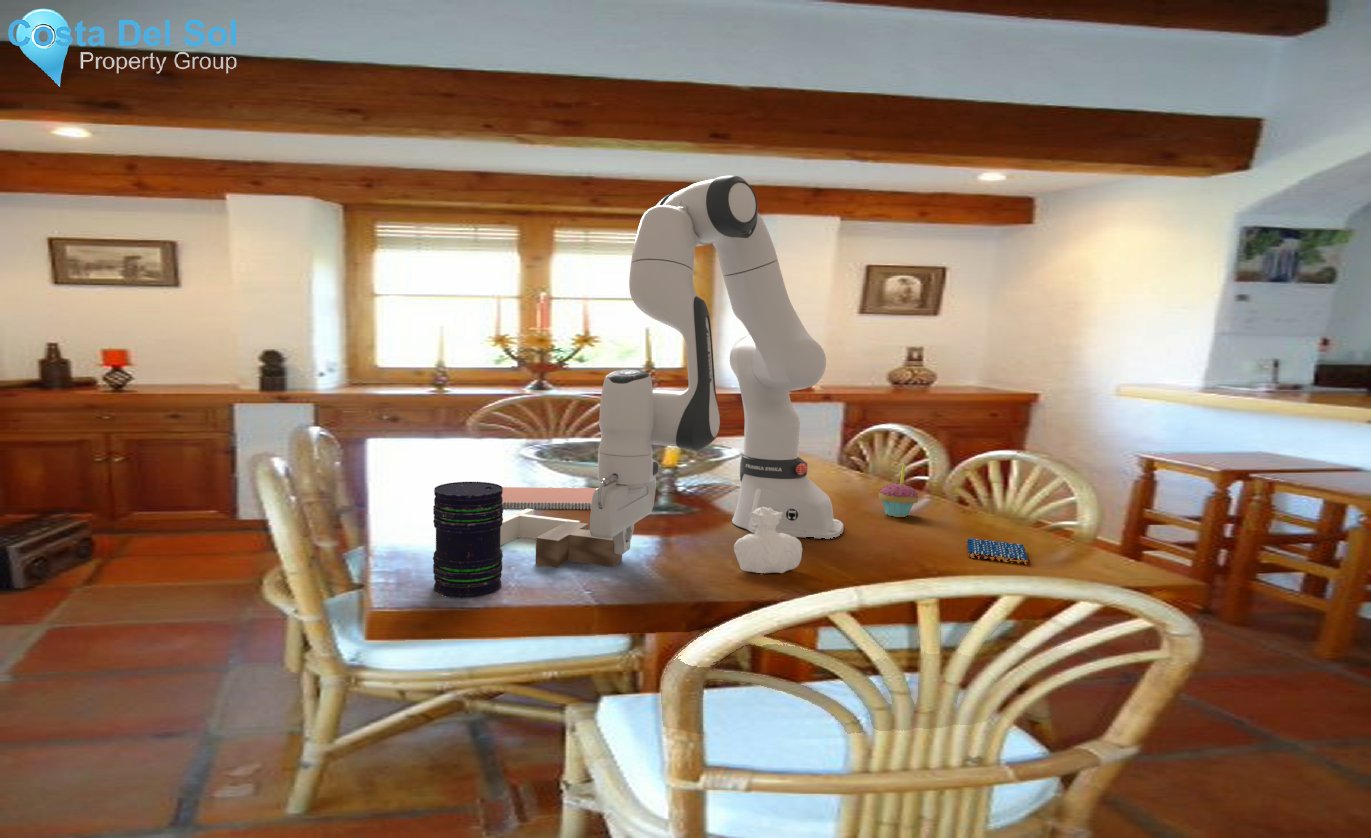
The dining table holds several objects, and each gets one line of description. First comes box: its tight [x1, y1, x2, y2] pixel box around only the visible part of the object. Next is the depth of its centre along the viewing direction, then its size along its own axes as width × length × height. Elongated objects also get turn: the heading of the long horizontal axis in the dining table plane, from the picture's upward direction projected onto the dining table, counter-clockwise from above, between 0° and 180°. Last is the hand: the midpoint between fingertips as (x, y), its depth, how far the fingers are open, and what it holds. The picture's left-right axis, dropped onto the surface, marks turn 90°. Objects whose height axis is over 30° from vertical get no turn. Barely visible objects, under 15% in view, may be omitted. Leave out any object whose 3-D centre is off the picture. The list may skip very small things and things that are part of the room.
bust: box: [733, 507, 803, 574], centre depth 132 cm, size 12×8×11 cm
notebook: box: [502, 486, 598, 511], centre depth 175 cm, size 27×17×2 cm, turn 98°
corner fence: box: [500, 508, 581, 547], centre depth 136 cm, size 13×26×4 cm, turn 162°
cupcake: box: [878, 460, 919, 516], centre depth 174 cm, size 9×8×12 cm
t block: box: [534, 521, 623, 568], centre depth 133 cm, size 12×12×4 cm
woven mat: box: [966, 538, 1030, 563], centre depth 146 cm, size 10×11×2 cm
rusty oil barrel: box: [432, 481, 504, 599], centre depth 116 cm, size 10×10×15 cm
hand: (622, 552), depth 131 cm, fingers closed, pressing on t block
